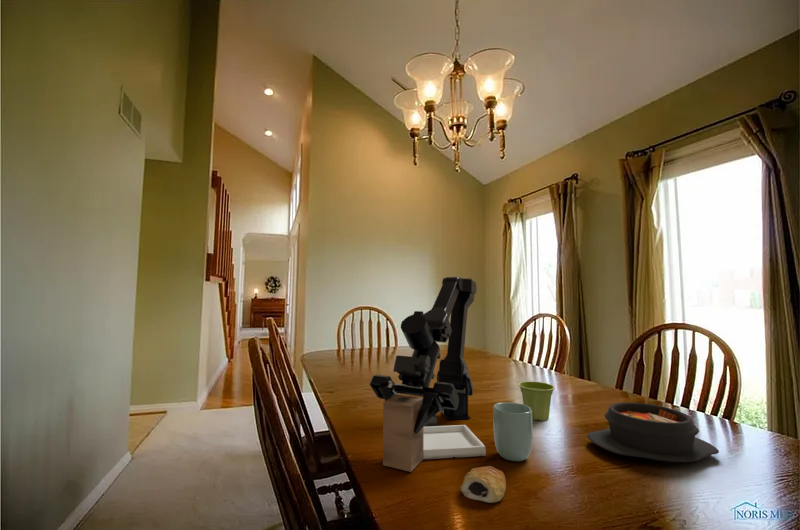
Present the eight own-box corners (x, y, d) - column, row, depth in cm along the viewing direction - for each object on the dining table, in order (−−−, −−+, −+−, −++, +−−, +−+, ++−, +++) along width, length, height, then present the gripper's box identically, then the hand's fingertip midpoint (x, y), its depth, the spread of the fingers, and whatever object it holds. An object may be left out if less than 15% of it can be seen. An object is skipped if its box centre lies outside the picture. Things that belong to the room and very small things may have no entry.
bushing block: (396, 453, 77) (397, 393, 78) (423, 459, 74) (423, 397, 75) (382, 465, 71) (383, 400, 72) (410, 471, 68) (411, 405, 69)
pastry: (478, 474, 69) (478, 453, 69) (514, 484, 65) (514, 462, 66) (458, 497, 61) (458, 473, 61) (498, 510, 57) (498, 484, 58)
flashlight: (431, 422, 96) (431, 411, 96) (437, 426, 94) (437, 414, 94) (394, 429, 91) (395, 418, 91) (400, 433, 88) (400, 421, 89)
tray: (465, 432, 89) (465, 424, 90) (485, 455, 76) (485, 446, 77) (412, 435, 87) (412, 427, 88) (423, 459, 74) (423, 450, 75)
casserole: (671, 434, 89) (669, 399, 90) (748, 470, 71) (744, 425, 71) (571, 436, 88) (570, 400, 89) (622, 473, 69) (620, 427, 70)
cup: (536, 467, 71) (534, 414, 72) (494, 463, 73) (494, 411, 74) (530, 451, 79) (529, 403, 80) (492, 447, 80) (492, 401, 81)
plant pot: (562, 419, 100) (561, 386, 101) (541, 425, 95) (540, 391, 95) (533, 410, 108) (532, 379, 108) (512, 415, 102) (511, 384, 103)
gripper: (374, 337, 82) (344, 400, 71) (454, 343, 74) (434, 415, 63) (390, 367, 88) (365, 429, 78) (465, 375, 80) (449, 446, 69)
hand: (400, 429), depth 72 cm, fingers closed on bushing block, 6 cm apart
